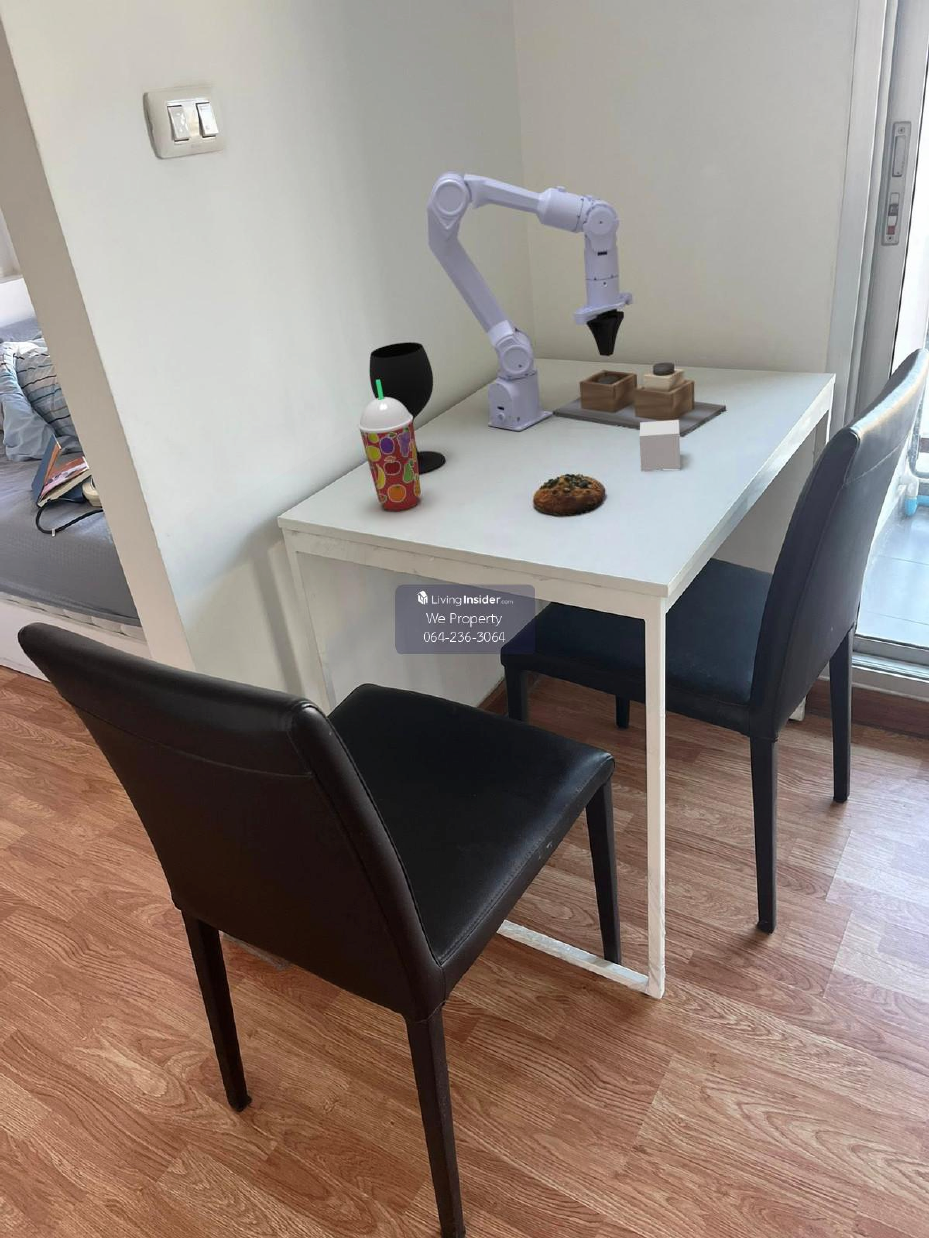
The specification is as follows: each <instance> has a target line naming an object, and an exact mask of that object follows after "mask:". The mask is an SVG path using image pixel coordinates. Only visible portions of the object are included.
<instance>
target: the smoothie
mask: <svg viewBox="0 0 929 1238" xmlns="http://www.w3.org/2000/svg"><path fill="white" fill-rule="evenodd" d="M376 384H377V390H378V395H379V398H377V399H376V398H375V399H372V400H371V401H370V402H369V403H368V404H367V405H366V406H365V408H364V409H363V411H362V412H361V417H360V421H359V424H358V429H359V432H360V436H361V440H362V444H363V447H364V452H365V455H366V460H367V463H368V466H369V470H370V474H371V477H372V481H373V484H374V488H375V492H376V496H377V499H378V501H379V502H380V503H381V504H382V506H383V508H384V509H385V510H389V511H393V510H394V511H403V510H408V509H410V508H413V507H414V506H415V505H417V504H418V502H419V497H420V496H421V483H420V482H421V481H420V475H419V472H418V463H417V454H416V447H417V443H416V444H415V442H416V437H415V427H414V422H413V416H412V415H411V414H410V413H409V412H408V410H407V409H406V407H405V406H404V405H403V404H402V403H401V402H400V401H398V400H396V399H394V398H390V397H383V393H382V388H381V382H380V380H376Z"/></svg>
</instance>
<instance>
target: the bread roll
mask: <svg viewBox="0 0 929 1238" xmlns="http://www.w3.org/2000/svg"><path fill="white" fill-rule="evenodd" d="M547 480H548V481H547V482H546V481H545V482H544V483H543V485H541V486H540V487H539V488H538V490H536V491H535V493H534V494H533V499H532V504H533V505H532V506H533V507H534V508H535V509H536V510H537V511H539V512H541V513H545V514H548V515H552V516H558V517H559V516H561V517H565V516H566V517H569V516H578V515H579V516H582V515H585V514H587V513H589V512H591V511H593V510H594V509H595V508H598V507H599V506H600V505H601V503H602V502H603V500H604V497H605V495H606V492H607V491H606V488H605V486H604V484H603V483H602V482H600V481H598V479H596V478H594V477H591V476H589V475H588V476H587V475H586V476H585V475H584V474H580V473H578V474H574V473H571V474H570V473H566V474H565V473H564V474H562V475H560V476H557V477H556V478H554V479H553V478H549V479H547Z"/></svg>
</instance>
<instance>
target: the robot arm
mask: <svg viewBox="0 0 929 1238" xmlns="http://www.w3.org/2000/svg"><path fill="white" fill-rule="evenodd" d="M470 203H472V210H476V209H479V208H482V207H484V206H486V205H489V204H490V205H495V206H499V207H505V208H510V209H514V210H517V211H521V212H522V211H523V212H527V213H531V214H534V215H536V217H537V219H538V221H539V223H540V224H541V225H544V226H547V227H552V228H554V229H558V230H563V231H565V232H566V231H567V232H570V233H573V234H578V233H581V232H583V233H584V234H583V237H584V239H583V240H584V250H583V257H584V258H583V259H584V273H585V274H584V276H585V289H586V291H585V292H586V303H585V305H583V306H582V307H581V308H580V309H578V310H577V311H575V312H574V313H573V319H574V320H573V322H574V325H580V326H581V325H582V326H584V325H586V326H588V329H589V330H590V332H591V334H592V336H593V338H594V341H595V344H596V347H597V350H598V354H599V356H604V357H610V356H612V355H614V350H615V345H616V341H617V336H618V333H619V330H620V326H621V324H622V322H623V320H624V318H625V312H624V311H623V310H621V311H620V309H622V308H624V307H626V306H629V305H632V304H633V303H634V302H633V292H629V291H628V292H626V291H622V292H620V290H621V289H620V274H619V273H620V270H619V269H620V268H619V253H618V252H619V251H618V246H617V240H618V239H617V234H616V233H617V231H618V230H619V229H618V228H619V225H620V220H619V219H618V215H617V212H616V210H615V209H614V208H613V206H611V205H610V203H608V202H607V201H605V200H602V199H601V198H599V197H598V198H594V196H593V195H592V194H586V196H582V195H580V194H579V195H578V194H575V193H572V192H567V191H566V187H565V186H561V185H557V187H556V188H555V187H554V188H553V187H549V188H547V189H546V190H544V191H542V192H541V193H539V192H536V191H532V190H529V189H525V188H523V187H520V186H517V185H516V186H515V185H513V184H510V183H506V182H503V181H500V180H498V179H493V178H490V177H488V176H482V175H481V176H480V175H477V174H476V175H475V174H469V173H464V175H462V174H461V173H458V172H456V171H448V172H444V173H442V174H441V175H440V176H439V177H438V178H437V179H436V181H435V183H434V186H433V187H432V190H431V193H430V196H429V200H428V203H427V207H426V209H427V210H426V211H427V231H428V232H427V233H428V235H427V236H428V246H429V248H430V250H431V252H432V253H433V254H434V257H435V258H436V259H437V260H438V262H439V264H440V265H441V267H442V269H444V272H445V273H446V275H447V276H448V278H449V279H450V280H451V282H452V283H453V285H454V286H455V288H456V290H457V291H458V292H459V294H460V295H461V297H462V299H463V300H464V302H465V303H466V305H467V307H468V308H469V309H470V310H471V312H472V314H473V316H474V317H475V318H476V320H477V321H478V323H479V324H480V326H481V327H482V328H483V330H484V331H485V333H486V334H487V335H486V336H487V337H488V339H489V341H490V344H491V346H492V347H493V350H494V351H495V353H496V355H497V359H498V360H497V361H498V366H499V369H498V370H497V378H496V380H495V381H494V382H493V383H491V384H490V385H489V387H488V389H487V401H488V409H489V417H490V421H489V422H487V423H488V424H487V425H488V426H489V427H496V428H501V429H505V430H506V429H507V430H511V431H517V432H521V431H523V430H525V429H526V428H529V427H532V425H534V424H537V423H538V422H540V421H542V420H544V419H546V418H547V417H550V416H551V415H552V412H551V411H545V410H542V405H541V395H540V386H539V385H540V384H539V375H538V366H537V365H536V364H534V362H535V356H534V352H533V344H532V339H531V337H530V336H529V335H528V334H527V333H526V332H525V331H523V330H521V329H519V328H518V327H517V326H516V324H515V323H514V321H513V320H512V319H511V318H510V317H509V316H508V315H507V313H506V311H505V309H503V306H502V305H501V304H500V302H499V300H498V299H497V298H496V296H495V294H494V293H493V291H492V290H491V288H490V286H489V285H488V283H487V282H486V281H485V279H484V277H483V276H482V274H481V273H480V271H479V269H478V268H477V267H476V265H475V263H474V262H473V260H472V259H471V257H470V255H469V254H468V253H467V251H466V249H465V248H464V246H463V245H462V243H461V242H460V240H459V238H458V234H459V231H460V225H461V221H462V218H463V217H464V215H465V214H466V211H467V209H468V208H469V204H470Z"/></svg>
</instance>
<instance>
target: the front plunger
mask: <svg viewBox="0 0 929 1238" xmlns="http://www.w3.org/2000/svg"><path fill="white" fill-rule="evenodd" d="M642 377H643V384H644V389H649V390H657V391H664V392H670V391H672V390H674V389H676V388H677V387H679V386H681V385H683V384H684V380H685V369H681V368H675V363H672V362H660V363H656V364H653V366H652V370H651V371H649V372H647V373H646V374H644V375H643V376H642Z"/></svg>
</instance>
